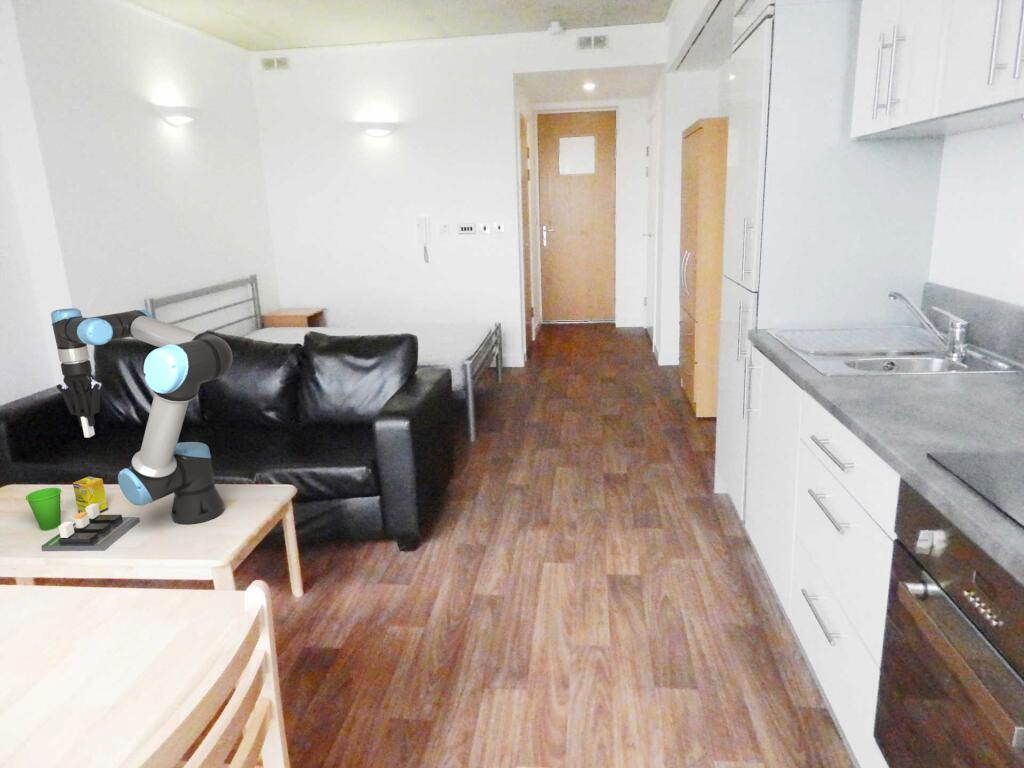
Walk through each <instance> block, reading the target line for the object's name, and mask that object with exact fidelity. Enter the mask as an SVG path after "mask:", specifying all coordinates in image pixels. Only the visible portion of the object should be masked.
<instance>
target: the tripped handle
mask: <svg viewBox="0 0 1024 768" xmlns="http://www.w3.org/2000/svg"><path fill="white" fill-rule="evenodd" d="M74 523H76V528H84V527H85V526H87V525H88V524H89V518H88V513H87V512H80V513H79V512H78V513H77V514H76V515H74Z"/></svg>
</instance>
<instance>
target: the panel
mask: <svg viewBox="0 0 1024 768" xmlns="http://www.w3.org/2000/svg"><path fill="white" fill-rule="evenodd" d="M139 523H140V516H135V517H134V516H124V517H123V515H122V514H100V515H98V516H97V517H96V518H94V519H89V524H88V525H87V526H85V527H84V528H76V523H75V522H73V528H74V534H72V535H71V536H69V537H68V538H61V537H60V532H58V534H57V535H55V536H54V537H52V538H50V539H49V540H48V541H46V542H45V543H44V544H42V545H41V546H40V547H41V551H42V552H75V551H76V552H86V551H87V552H88V551H89V552H90V551H98V552H99V551H106V550H107V549H108V548H110V547H111V546H112V545H113V544H114V543H116V542H117V541H118V540H119V539H121V537H123V536H124V535H126V533H128V532H129V531H130V530H131V529H132V528H133V527H135V526H136V525H137V524H139Z"/></svg>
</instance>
